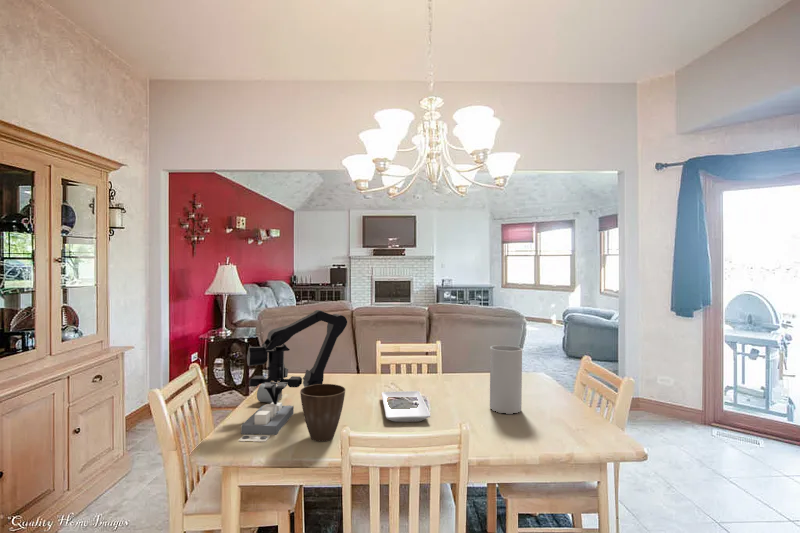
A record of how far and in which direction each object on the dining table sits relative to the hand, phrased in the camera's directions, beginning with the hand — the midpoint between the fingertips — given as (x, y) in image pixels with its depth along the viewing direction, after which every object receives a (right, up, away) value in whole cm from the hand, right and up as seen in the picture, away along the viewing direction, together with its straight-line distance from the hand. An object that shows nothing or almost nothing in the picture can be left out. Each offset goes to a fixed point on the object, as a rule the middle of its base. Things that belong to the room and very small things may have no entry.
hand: (275, 404), depth 160 cm
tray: (+49, -6, +9) cm, 50 cm away
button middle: (0, -3, -7) cm, 7 cm away
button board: (0, -5, -7) cm, 8 cm away
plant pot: (+21, -5, -19) cm, 29 cm away
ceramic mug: (-7, -5, +18) cm, 20 cm away
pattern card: (-1, -5, -21) cm, 22 cm away
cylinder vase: (+90, -6, +11) cm, 91 cm away
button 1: (0, -2, -14) cm, 14 cm away
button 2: (0, -4, 0) cm, 4 cm away
